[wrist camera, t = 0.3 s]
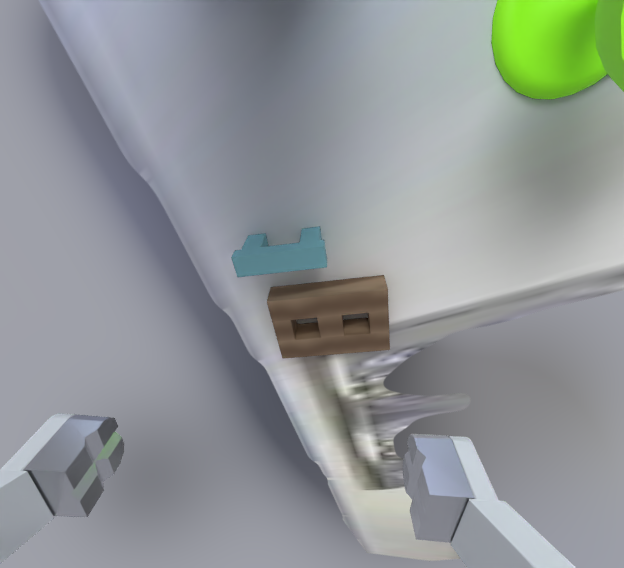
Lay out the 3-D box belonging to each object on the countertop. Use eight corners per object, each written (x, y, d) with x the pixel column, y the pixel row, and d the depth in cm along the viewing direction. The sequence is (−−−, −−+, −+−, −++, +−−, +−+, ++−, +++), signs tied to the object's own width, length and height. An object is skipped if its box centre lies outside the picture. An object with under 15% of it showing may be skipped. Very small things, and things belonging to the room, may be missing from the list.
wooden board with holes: (270, 287, 52) (266, 301, 49) (383, 275, 50) (387, 289, 47) (285, 342, 59) (282, 358, 55) (386, 333, 57) (389, 349, 53)
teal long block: (243, 234, 47) (231, 257, 42) (324, 224, 46) (324, 246, 40) (248, 253, 49) (237, 277, 43) (327, 243, 48) (327, 267, 42)
